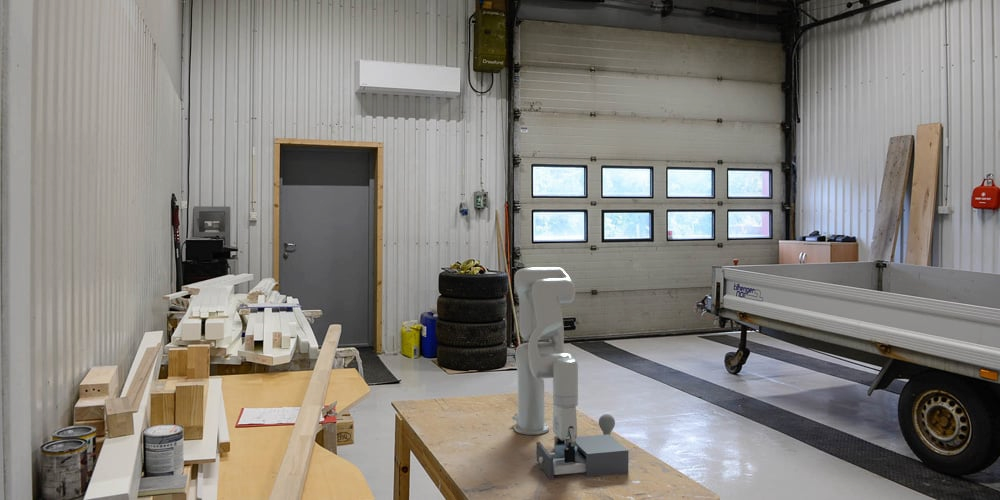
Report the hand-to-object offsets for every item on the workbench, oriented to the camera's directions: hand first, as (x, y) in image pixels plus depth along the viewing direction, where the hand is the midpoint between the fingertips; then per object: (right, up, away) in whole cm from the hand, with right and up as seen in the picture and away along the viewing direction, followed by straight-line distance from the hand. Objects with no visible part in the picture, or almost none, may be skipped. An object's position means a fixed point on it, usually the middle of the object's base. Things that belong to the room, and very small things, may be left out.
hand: (565, 457), depth 196 cm
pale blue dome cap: (0, +1, 0) cm, 1 cm away
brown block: (+1, -3, +17) cm, 17 cm away
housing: (+10, -4, +2) cm, 11 cm away
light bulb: (+16, -3, +23) cm, 28 cm away
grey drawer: (-1, -3, 0) cm, 3 cm away
